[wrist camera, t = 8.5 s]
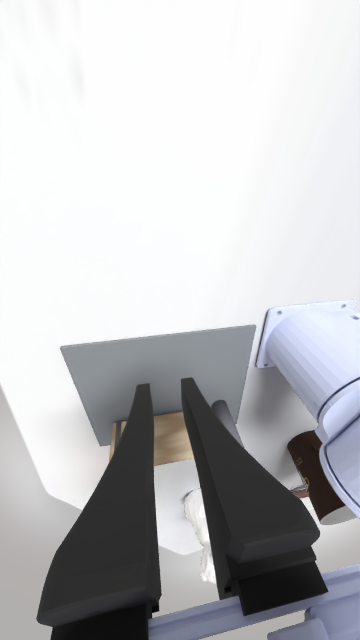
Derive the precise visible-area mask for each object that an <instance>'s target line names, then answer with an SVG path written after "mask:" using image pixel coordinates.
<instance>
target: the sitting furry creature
mask: <svg viewBox="0 0 360 640" xmlns="http://www.w3.org/2000/svg"><path fill="white" fill-rule="evenodd" d="M184 507H185V515H186V518H188V519H189V521H190V522H191V523H192V525H193V526H194V528H195V533H196V535H197V539H198V540H199V541H200V544H201V545H202V546H203V547H204V548H203V551H202V556H201V567H202V570H201V578H202V580H203V581H206V580H208V581H209V582H212V583H214V584H217V583H216V576H215V570H214V564H213V558H212V552H211V545H210V539H209V533H208V528H207V522H206V516H205V510H204V504H203V499H202V493H201V488H198V489H194V490H193V491H191V492H190V493H189V495H188V496H187V497H186V498H185V502H184Z"/></svg>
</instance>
